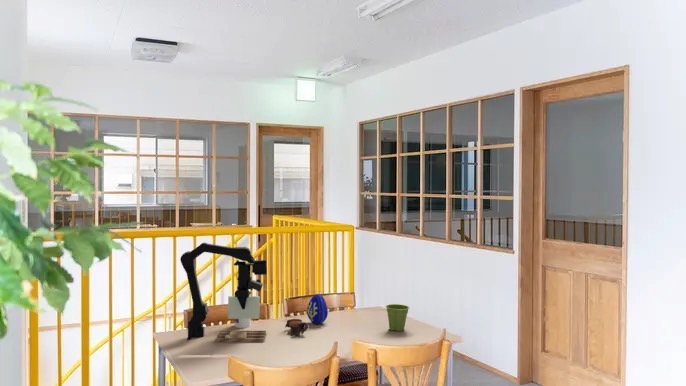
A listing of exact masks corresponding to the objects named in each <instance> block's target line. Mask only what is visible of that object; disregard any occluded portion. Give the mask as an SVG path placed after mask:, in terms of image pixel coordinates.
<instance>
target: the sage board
mask: <svg viewBox="0 0 686 386" xmlns="http://www.w3.org/2000/svg"><path fill="white" fill-rule="evenodd" d="M227 298H228V301H227V308H228V309H227V319H228V320H230V319H232V320H233V319H234V320H235V319H251V320H252V319H253V320H257V319H258V320H259V319H260V299H261V297H260V296H257V295H256V296H255V295H254V296H253V295H250V296H249V297H248V298H247V300H246V305H245V309H242V307H241V305H240V303H239V300H238V298H237V297H235V295H232V296H231V295H229V296H227Z"/></svg>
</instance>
